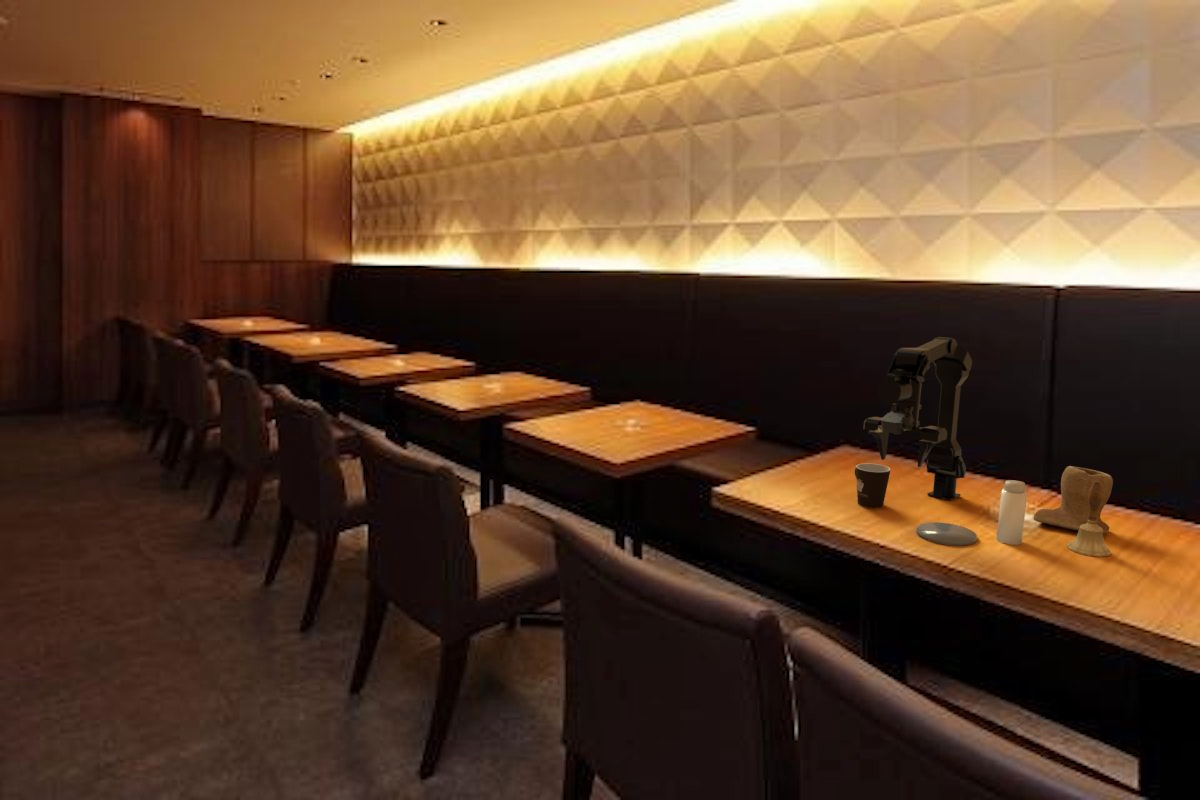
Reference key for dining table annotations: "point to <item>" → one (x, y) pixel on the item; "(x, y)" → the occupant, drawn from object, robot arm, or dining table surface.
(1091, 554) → the hand bell
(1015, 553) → the dining table surface
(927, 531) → the slate plate
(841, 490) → the dining table surface
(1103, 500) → the brown boot
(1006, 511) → the capped bottle
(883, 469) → the coffee mug
